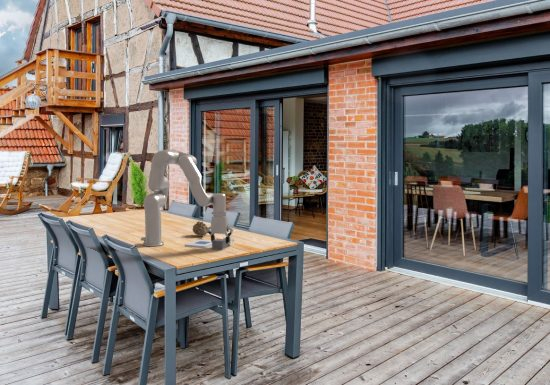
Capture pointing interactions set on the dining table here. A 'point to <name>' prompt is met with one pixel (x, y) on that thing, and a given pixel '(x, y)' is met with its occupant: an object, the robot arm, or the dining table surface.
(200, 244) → the board
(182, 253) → the dining table surface
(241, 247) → the dining table surface
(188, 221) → the dining table surface
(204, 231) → the pine cone
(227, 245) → the cream block
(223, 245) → the charcoal block
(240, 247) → the dining table surface
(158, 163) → the robot arm
